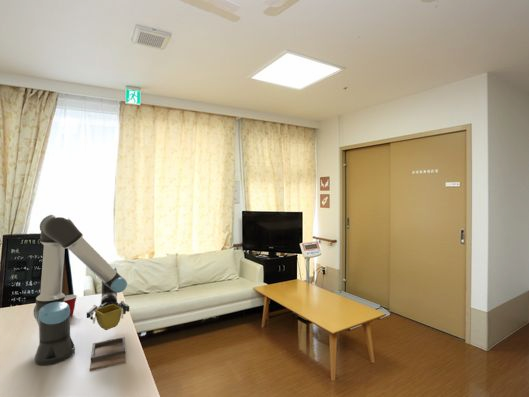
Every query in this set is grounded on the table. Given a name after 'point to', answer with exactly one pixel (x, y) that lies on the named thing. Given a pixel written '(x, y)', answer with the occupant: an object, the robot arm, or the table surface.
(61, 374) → the table surface
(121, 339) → the tray
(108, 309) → the flower pot
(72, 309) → the plastic cup
